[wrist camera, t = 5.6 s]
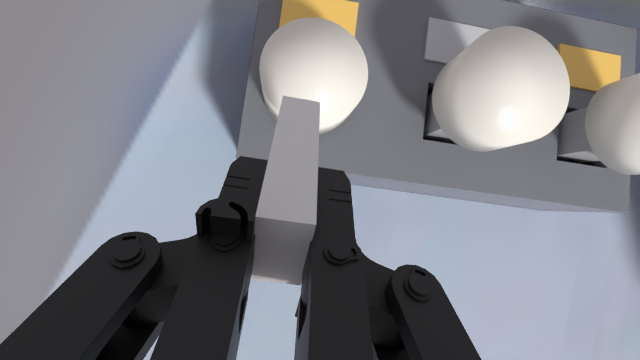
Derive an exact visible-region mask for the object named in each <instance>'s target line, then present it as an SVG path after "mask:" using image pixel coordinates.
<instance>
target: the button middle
mask: <svg viewBox="0 0 640 360" xmlns="http://www.w3.org/2000/svg"><path fill="white" fill-rule="evenodd" d="M569 96H570V83H569V76H568V72H567V69H566V66H565V64H564V62H563V60H562V58H561V56H560V55H559V53H558V51H557V50H556V49H555V48H554V47H553V45H552V44H551V43H550V42H549V41H547V40H546V39H545V38H544V37H542V36H541V35H539V34H538V33H536V32H534V31H532V30H529V29H526V28H523V27H517V26H503V27H498V28H494V29H492V30H490V31H487V32H486V33H484V34H482V35H481V36H480V37H478V38H477V39H476V40H475V41H474V42H472V43H471V44H470V45H469V46H468V47H466V48H465V49H464V50H463V51H462V52H460V53H459V54H458V55H457V56H456V57H454V58H453V59H452V60H451V61H450V62H448V63H447V64H446V65H445V66H444V67H443V69H442V70H441V71H440V73H439V74H438V76H437V78H436V80H435V83H434V87H433V92H432V93H431V94H429V95H428V96H427V102H426V112H425V122H424V132H423V140H430V141H436V142H443V143H449V144H455V145H459V146H461V147H463V148H466V149H468V150H472V151H478V152H488V151H493V150H497V149H501V148H505V147H510V146H514V145H518V144H522V143H526V142H530V141H534V140H537V139H540V138H542V137H543V136H545V135H547V134H548V133H550V132H551V131H552V130H553V129H554V128H555V127H556V126H557V125H558V124H559V122H560V121H561V120H562V118H563V116H564V114H565V112H566V109H567V106H568V102H569Z"/></svg>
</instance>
